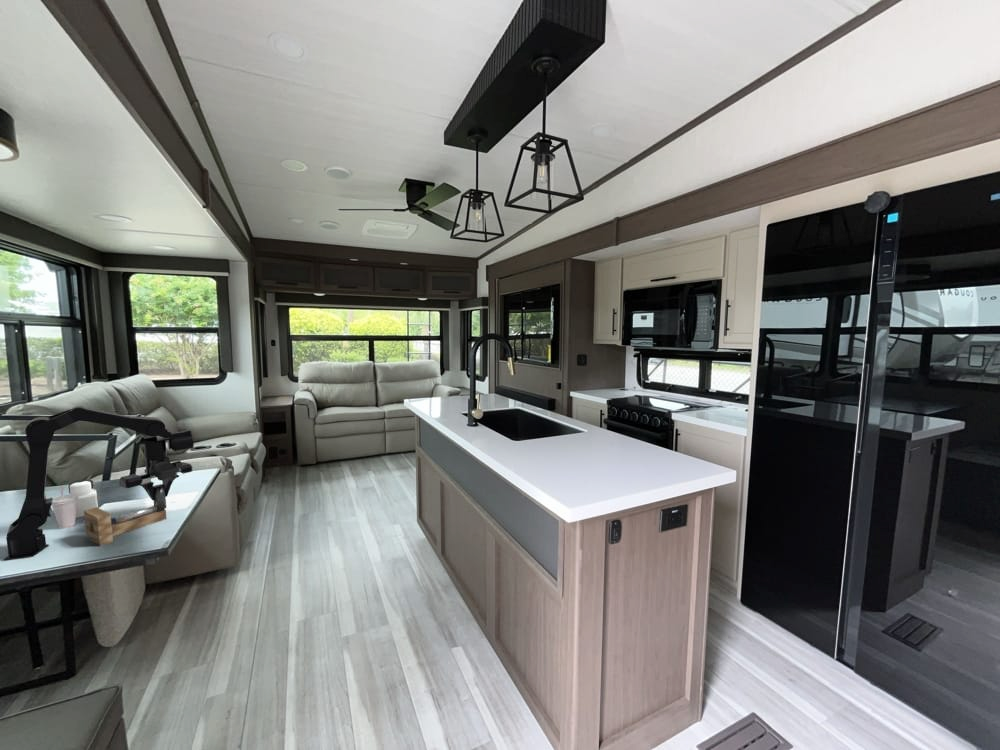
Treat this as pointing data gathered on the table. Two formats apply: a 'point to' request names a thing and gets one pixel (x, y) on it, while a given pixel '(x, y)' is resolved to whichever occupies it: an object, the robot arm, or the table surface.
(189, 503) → the table surface
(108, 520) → the wooden mallet
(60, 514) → the smoothie
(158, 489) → the door handle
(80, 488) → the medicine bottle
